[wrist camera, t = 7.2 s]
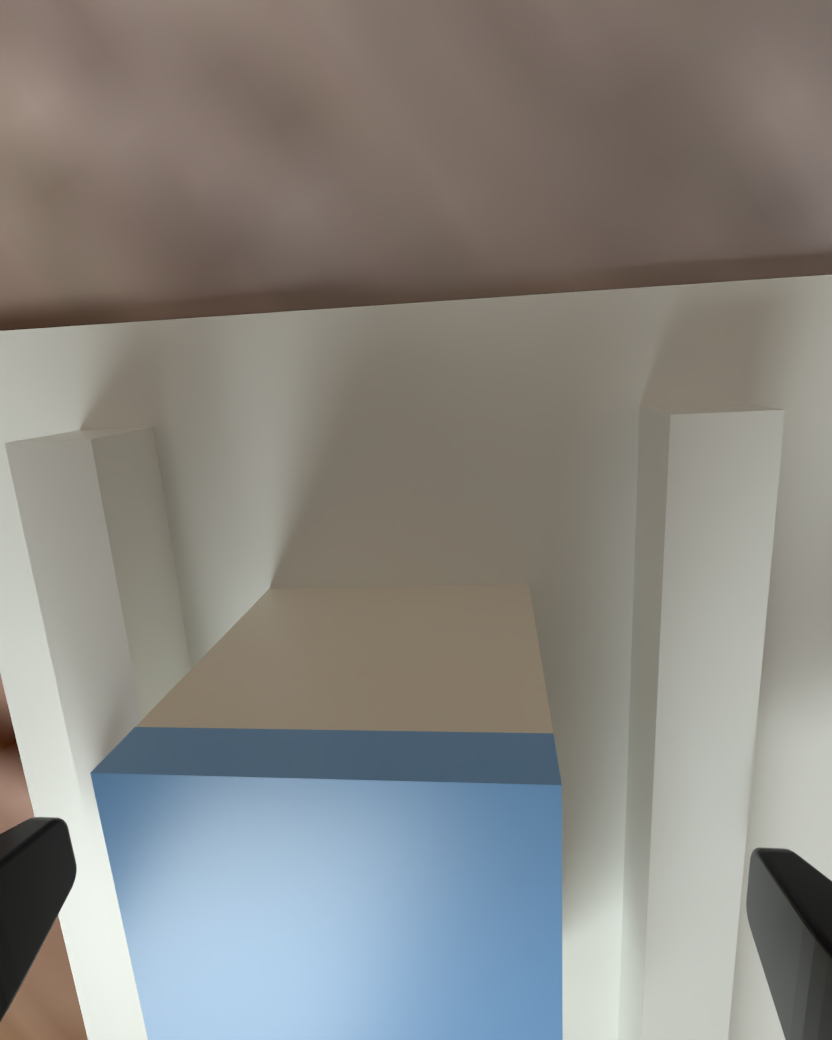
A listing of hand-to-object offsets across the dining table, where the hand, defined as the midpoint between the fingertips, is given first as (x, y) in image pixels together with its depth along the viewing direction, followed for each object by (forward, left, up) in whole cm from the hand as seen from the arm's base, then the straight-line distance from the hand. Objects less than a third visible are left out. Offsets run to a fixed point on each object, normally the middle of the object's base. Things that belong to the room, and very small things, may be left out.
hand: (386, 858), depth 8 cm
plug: (0, +1, -2) cm, 2 cm away
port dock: (0, +2, -2) cm, 4 cm away
